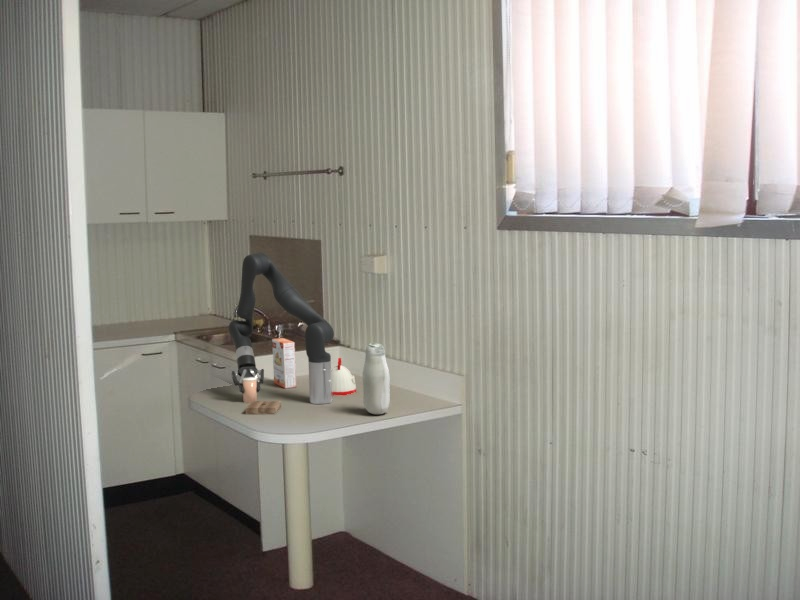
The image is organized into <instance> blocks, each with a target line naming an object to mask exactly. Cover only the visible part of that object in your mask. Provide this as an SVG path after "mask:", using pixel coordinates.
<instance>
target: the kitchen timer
mask: <svg viewBox="0 0 800 600" xmlns="http://www.w3.org/2000/svg"><path fill="white" fill-rule="evenodd" d="M337 359H338V360H337V365H336V366H334V367H333V368H331V378H332V396H334V395H342V396H348V395H347V394H350V395H352V394H351V393H354V392H356V393H357V385H356V379H355V378H356V377H355V374H353V375H352V372H351V371H350V370H349V369H348V368H347V367H346V366H344V365H342V357H338V358H337ZM354 394H355V393H354Z"/></svg>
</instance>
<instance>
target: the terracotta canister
mask: <svg viewBox="0 0 800 600" xmlns="http://www.w3.org/2000/svg"><path fill="white" fill-rule="evenodd" d="M242 380H243V388H244V393H242V398H243V403H244V402H245V404H250V403H251V402H252V401H258V392H257V380H256V377H244V378H242Z"/></svg>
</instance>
